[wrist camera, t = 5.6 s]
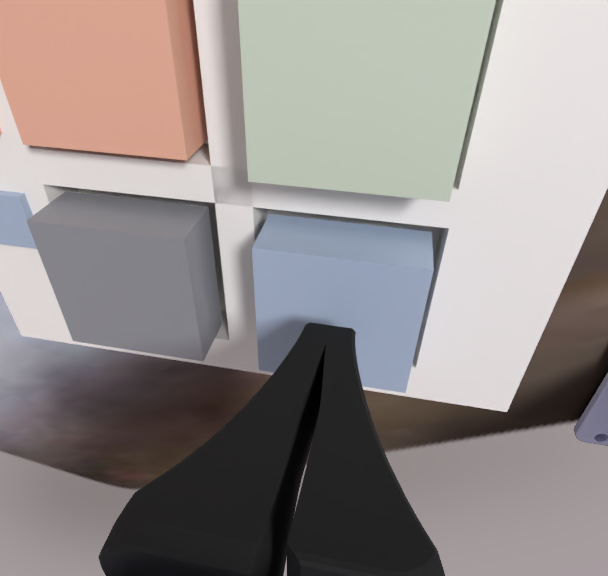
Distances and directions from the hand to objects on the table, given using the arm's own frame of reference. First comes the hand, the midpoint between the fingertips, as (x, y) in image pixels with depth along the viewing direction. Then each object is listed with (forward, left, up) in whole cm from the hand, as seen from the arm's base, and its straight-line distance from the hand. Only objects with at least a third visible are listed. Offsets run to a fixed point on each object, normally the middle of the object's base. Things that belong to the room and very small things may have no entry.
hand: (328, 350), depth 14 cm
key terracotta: (+7, -7, -4) cm, 11 cm away
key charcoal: (+7, 0, -3) cm, 8 cm away
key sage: (0, -7, -3) cm, 8 cm away
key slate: (0, 0, -3) cm, 3 cm away
